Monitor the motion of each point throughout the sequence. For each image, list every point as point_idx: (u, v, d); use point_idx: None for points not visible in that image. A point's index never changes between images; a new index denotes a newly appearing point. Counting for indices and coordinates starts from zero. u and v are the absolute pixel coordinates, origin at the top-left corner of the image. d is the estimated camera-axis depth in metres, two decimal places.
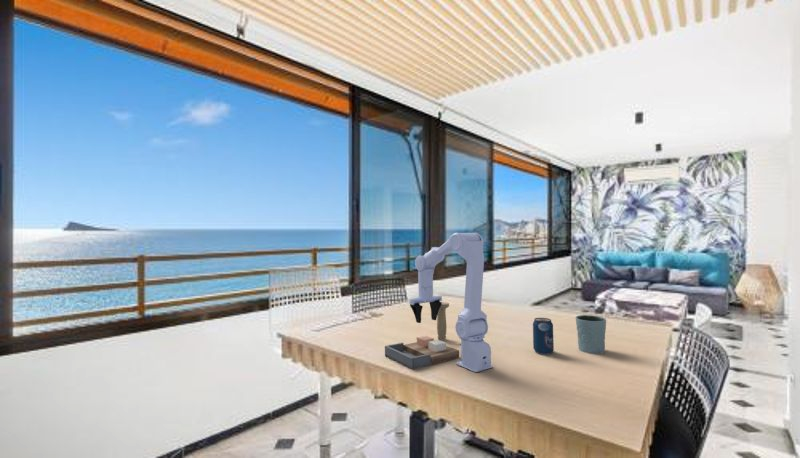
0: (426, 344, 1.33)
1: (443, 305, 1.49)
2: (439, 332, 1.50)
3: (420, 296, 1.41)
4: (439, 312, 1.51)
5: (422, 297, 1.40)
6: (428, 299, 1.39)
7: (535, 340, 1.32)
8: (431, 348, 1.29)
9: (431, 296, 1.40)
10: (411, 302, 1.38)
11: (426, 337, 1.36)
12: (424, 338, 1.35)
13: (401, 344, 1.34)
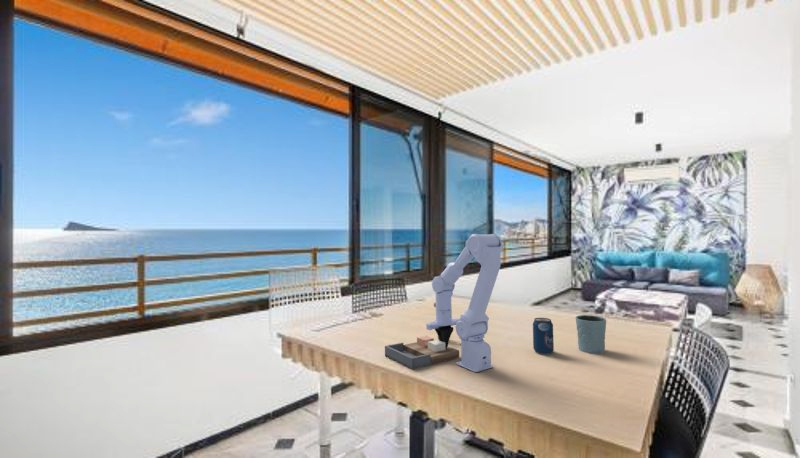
0: (426, 344, 1.33)
1: None
2: None
3: (438, 320, 1.30)
4: None
5: (440, 321, 1.29)
6: (446, 324, 1.29)
7: (535, 340, 1.32)
8: (430, 348, 1.29)
9: (450, 320, 1.30)
10: (428, 327, 1.28)
11: (426, 337, 1.36)
12: (424, 338, 1.35)
13: (401, 344, 1.34)
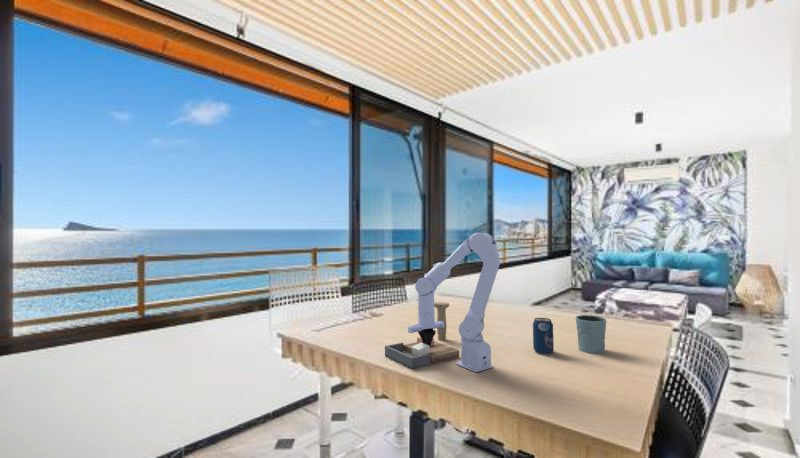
0: None
1: (443, 305, 1.49)
2: (439, 332, 1.50)
3: (420, 323, 1.26)
4: (439, 312, 1.51)
5: (422, 324, 1.25)
6: (429, 327, 1.25)
7: (535, 340, 1.32)
8: (415, 353, 1.25)
9: (432, 323, 1.26)
10: (410, 330, 1.23)
11: None
12: None
13: (401, 344, 1.34)
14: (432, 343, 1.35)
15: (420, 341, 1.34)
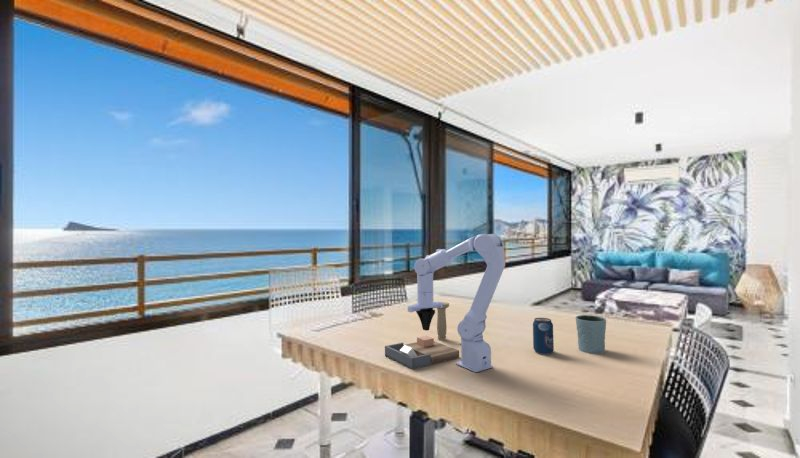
0: (426, 344, 1.33)
1: (443, 305, 1.49)
2: (439, 332, 1.50)
3: (419, 302, 1.29)
4: (439, 312, 1.51)
5: (421, 304, 1.28)
6: (428, 306, 1.28)
7: (535, 340, 1.32)
8: None
9: (431, 303, 1.29)
10: (409, 309, 1.26)
11: (426, 337, 1.36)
12: (424, 338, 1.35)
13: (401, 344, 1.34)
14: (432, 343, 1.35)
15: (420, 341, 1.34)
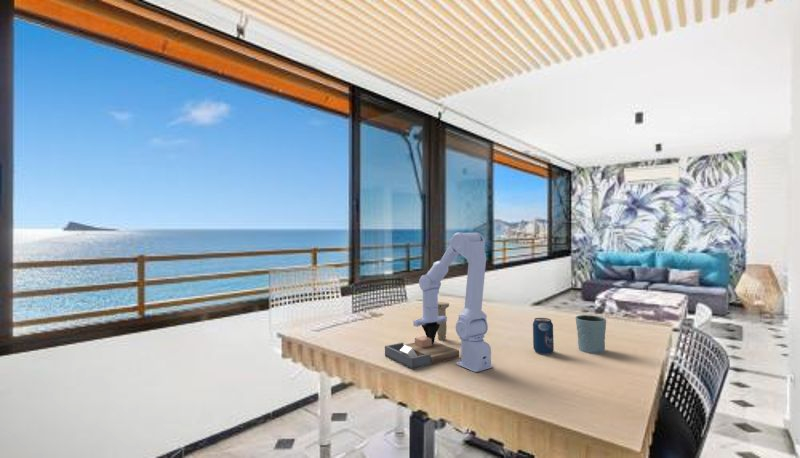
0: (424, 344, 1.33)
1: (443, 305, 1.49)
2: (439, 332, 1.50)
3: (424, 317, 1.36)
4: (439, 312, 1.51)
5: (426, 318, 1.35)
6: (433, 320, 1.34)
7: (535, 340, 1.32)
8: None
9: (436, 317, 1.35)
10: (415, 324, 1.33)
11: (424, 337, 1.36)
12: (422, 338, 1.34)
13: (401, 344, 1.34)
14: (430, 343, 1.34)
15: (418, 341, 1.34)
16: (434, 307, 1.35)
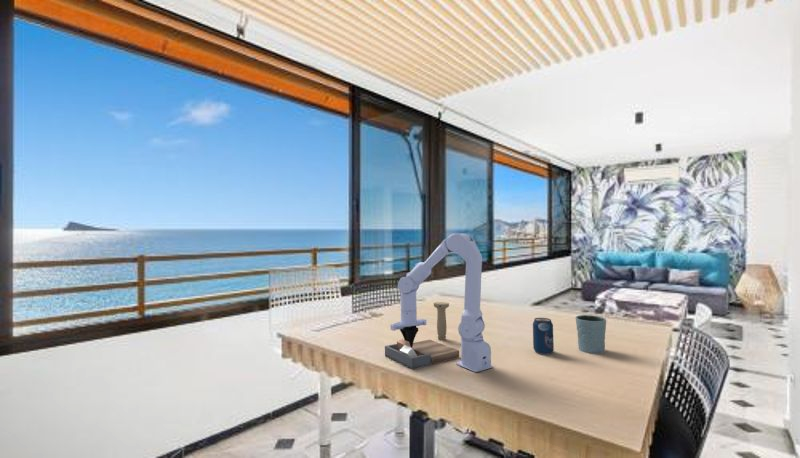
0: None
1: (443, 305, 1.49)
2: (439, 332, 1.50)
3: (402, 321, 1.30)
4: (439, 312, 1.51)
5: (404, 322, 1.29)
6: (411, 324, 1.29)
7: (535, 340, 1.32)
8: None
9: (414, 321, 1.30)
10: (392, 328, 1.28)
11: (400, 346, 1.30)
12: None
13: None
14: (408, 344, 1.29)
15: None
16: (412, 310, 1.30)
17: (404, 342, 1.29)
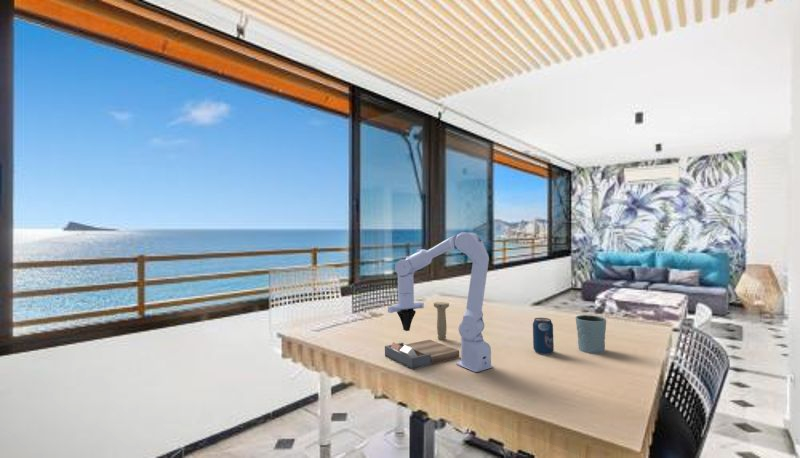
0: None
1: (443, 305, 1.49)
2: (439, 332, 1.50)
3: (399, 303, 1.30)
4: (439, 312, 1.51)
5: (402, 304, 1.29)
6: (408, 307, 1.28)
7: (535, 340, 1.32)
8: None
9: (411, 303, 1.29)
10: (389, 310, 1.27)
11: None
12: None
13: (401, 344, 1.34)
14: (400, 347, 1.27)
15: None
16: (409, 293, 1.29)
17: (396, 347, 1.27)
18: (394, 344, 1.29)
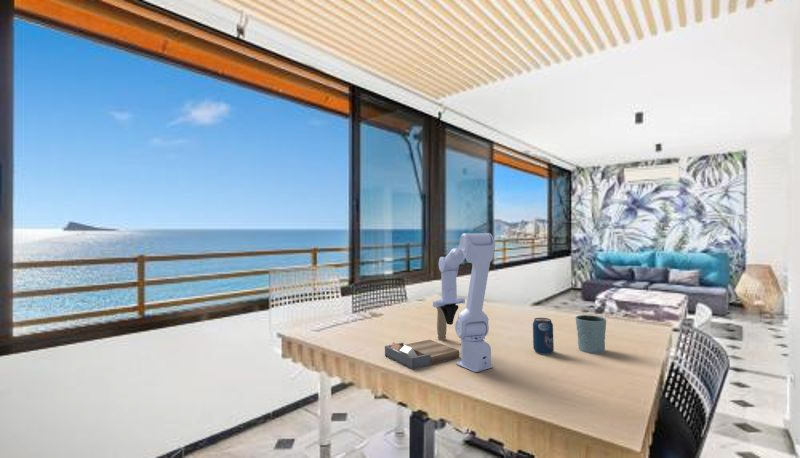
0: None
1: None
2: (439, 332, 1.50)
3: (443, 298, 1.37)
4: (439, 312, 1.51)
5: (446, 299, 1.36)
6: (452, 301, 1.36)
7: (535, 340, 1.32)
8: None
9: (455, 298, 1.37)
10: (435, 304, 1.34)
11: None
12: None
13: (401, 344, 1.34)
14: (400, 347, 1.27)
15: None
16: (453, 288, 1.36)
17: (396, 347, 1.27)
18: (394, 344, 1.29)
